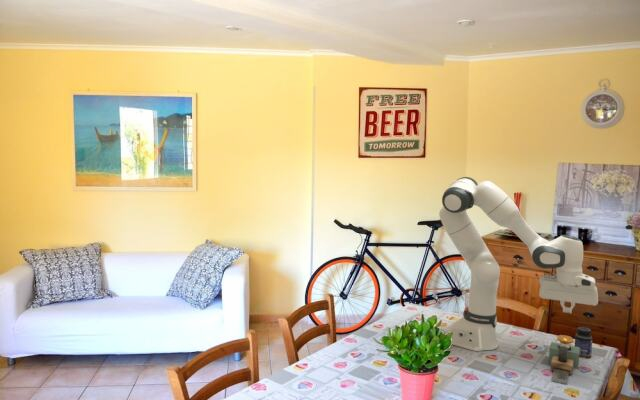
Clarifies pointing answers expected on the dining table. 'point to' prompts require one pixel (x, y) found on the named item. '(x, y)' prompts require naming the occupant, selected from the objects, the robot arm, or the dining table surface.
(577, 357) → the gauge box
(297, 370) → the dining table surface
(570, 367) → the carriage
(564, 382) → the rail
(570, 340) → the plunger
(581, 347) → the pill bottle
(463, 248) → the robot arm
